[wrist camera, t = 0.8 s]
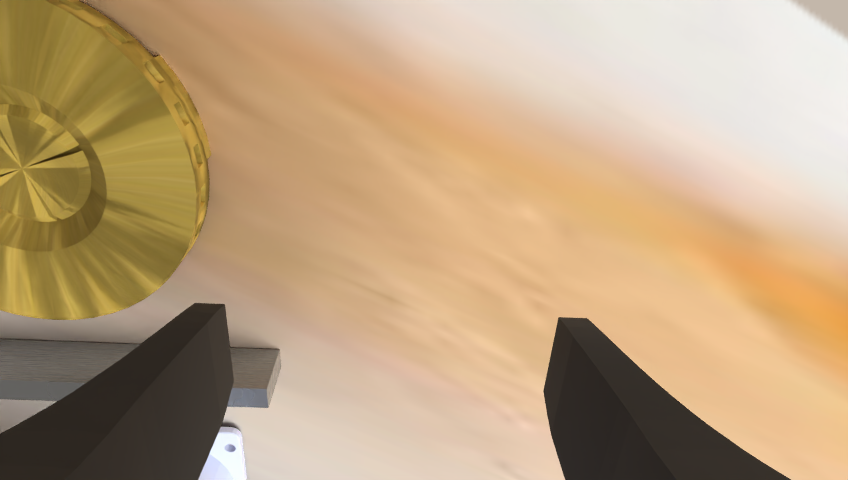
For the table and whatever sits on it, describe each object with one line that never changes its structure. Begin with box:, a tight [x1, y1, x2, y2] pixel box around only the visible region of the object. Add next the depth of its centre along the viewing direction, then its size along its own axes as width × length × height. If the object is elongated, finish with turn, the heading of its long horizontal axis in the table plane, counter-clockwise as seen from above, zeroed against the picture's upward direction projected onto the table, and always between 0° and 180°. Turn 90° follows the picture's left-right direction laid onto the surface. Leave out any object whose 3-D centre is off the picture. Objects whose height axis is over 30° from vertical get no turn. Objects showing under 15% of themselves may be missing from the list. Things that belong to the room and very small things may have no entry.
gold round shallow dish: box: [0, 0, 211, 320], centre depth 20 cm, size 12×12×2 cm
